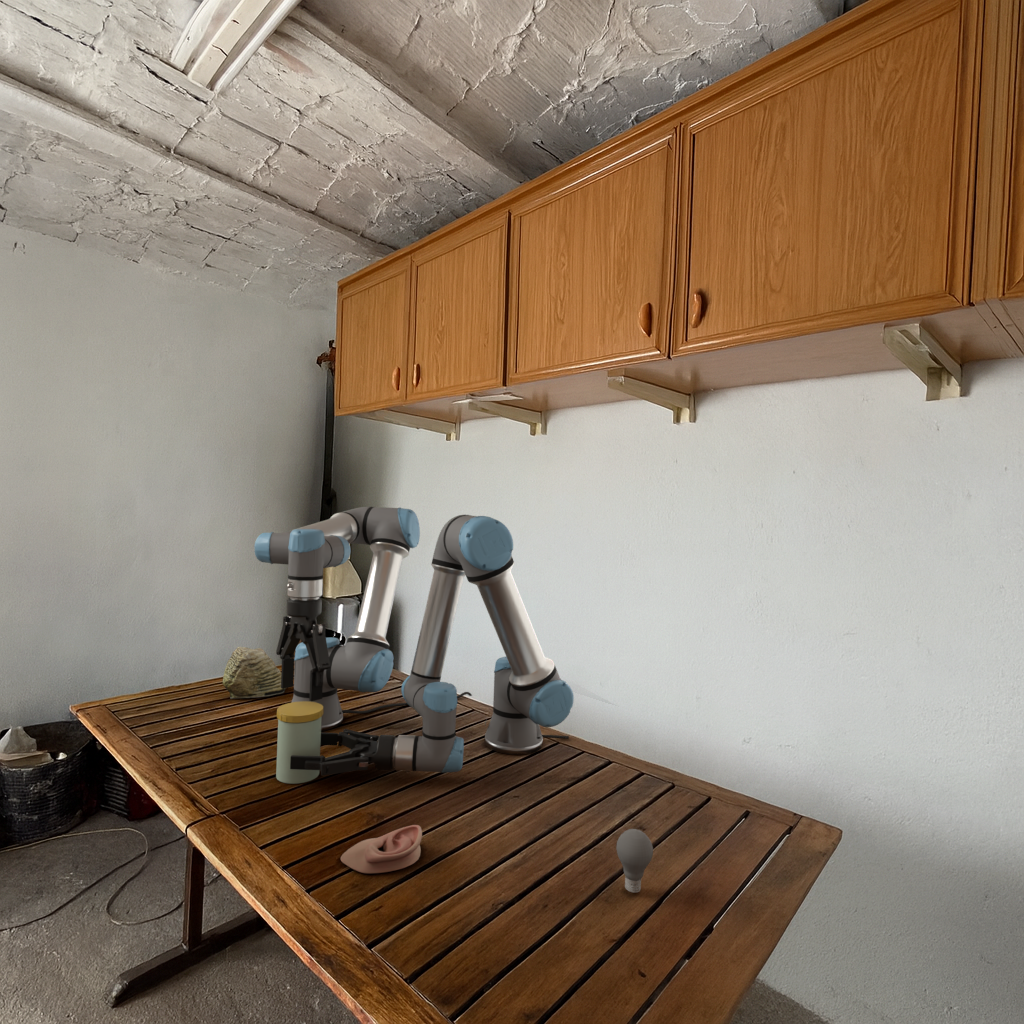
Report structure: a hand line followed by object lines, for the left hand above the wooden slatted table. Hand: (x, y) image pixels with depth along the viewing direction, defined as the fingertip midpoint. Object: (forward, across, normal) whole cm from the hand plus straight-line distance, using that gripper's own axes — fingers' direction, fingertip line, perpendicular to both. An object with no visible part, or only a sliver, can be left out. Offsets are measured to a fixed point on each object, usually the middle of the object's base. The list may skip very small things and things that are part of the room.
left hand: (301, 693), depth 143 cm
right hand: (+12, +1, 0) cm, 13 cm away
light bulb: (+19, +77, +16) cm, 81 cm away
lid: (+4, 0, 0) cm, 4 cm away
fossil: (+19, -60, +20) cm, 66 cm away
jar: (+19, 0, 0) cm, 19 cm away
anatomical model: (+19, +40, -7) cm, 44 cm away
